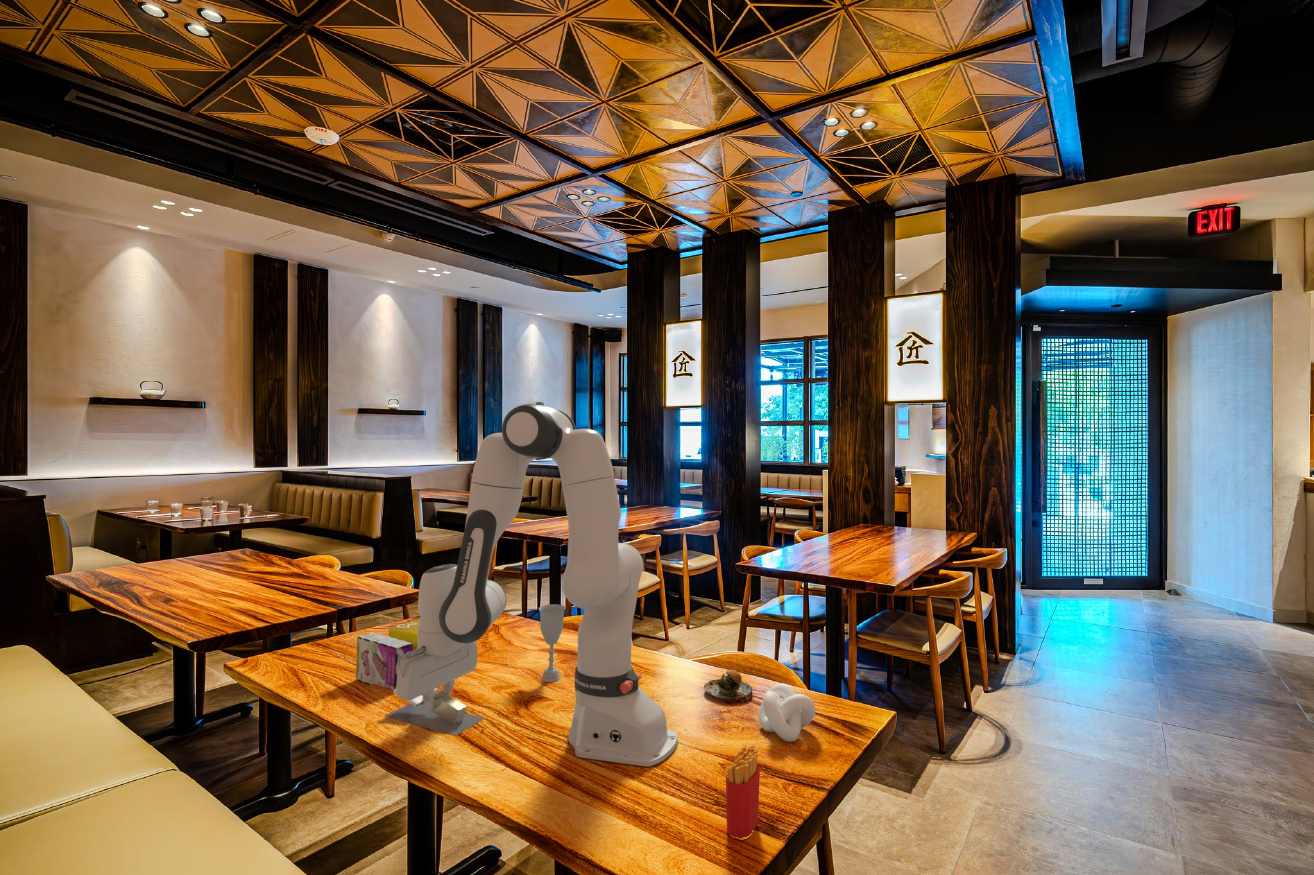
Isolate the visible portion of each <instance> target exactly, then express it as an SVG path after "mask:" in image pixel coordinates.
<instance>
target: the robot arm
mask: <svg viewBox="0 0 1314 875" xmlns="http://www.w3.org/2000/svg"><path fill="white" fill-rule="evenodd" d="M546 459H551V460H553V461H554V462H555V464H556V465H557V467H558V470H559V475H560V481H561V486H562V492H563V498H564V505H565V510H566V515H567V523H568V525H567V526H568V541H567V542H568V543H567V562H566V567H565V570H564V573H563V574H562V578H561V579H562V580H561V586H562V591H563V594H564V596H565V598H566V600H568V602H569V603H570V604H572V605H573V606H574V607H576V608H578V609H581V610H584V612H583V616H582V619H581V622H580V623H579V626H578V628H577V629H578V630H577V656H576V658H577V661H576V662H577V664H576V667H575V670H574V671H575V672H574V689H575V690H574V691H575V703H574V710H573V717H572V721H571V726H570V729H569V733H568V734H567V740H568V742H569V744H570V745H571V746H572V747H573V748H574V756H576V757H578V758H583V759H590V760H597V761H604V762H611V763H618V764H623V765H624V764H626V765H631V766H632V765H633V766H639V767H651V766H654V765H658V764H660V763H661V762H662V761H664V760H666V759H667V758H669V756H670V755H672V754H673V752H674V750H675V749H676V748H677V747H678V743H679V741H678V740H679V738H678V734H677V732H676V731H674V730H671V729H669V728H668V725H667V719H666V714H665V711H664V709H663V708H662V707H661V706H660V705H659V704H658V703H657V702H655V700H653V699H652V697H650V696H649V695H648V694H647V693H646V692H645V691H644V690H643V689H642V688H641V687H640V686H639V681H640V680H641V679H642V678H643V676H642V675H643V672H642V671H640V672H639V673H638V674H637V673H636V672H635V670H634V667H633V666H632V634H633V633H632V632H633V623H634V617H635V611H636V606H637V599H638V592H639V587H640V580H641V577H642V574H643V570H644V561H643V558H642V555H641V554H640V552H639V550H638V549H637V548H635V547H634V546H633V545H630V544H627V543H623V542H622V543H621V542H619V529H620V520H621V517H622V510H621V504H620V499H619V494H618V489H617V483H616V478H615V473H614V468H613V464H612V460H611V457H610V454H609V450H608V448H607V445H606V442H605V441H604V438H603V436H602V435H601V433H599V432H598V431H596V430H593V429H590V428H578V429H577V427H576V425H575V422H574V421H573V419H572V418H571V417H570V416H569V415H568V414H567V413H566V412H564V411H561V410H558V409H555V408H553V407H550V406H547V405H542V404H534V403H524V404H520V405H518V406H516V407H514V408H512V409H511V410H510V411H508V413H507V414H506V415H505V417H504V419H503V421H502V425H501V432H494V433H492V434H489V435H487V436H485V437H484V439H482V441H481V443H480V446H479V448H478V452H477V454H476V458H475V462H474V466H473V471H472V476H471V481H470V482H471V483H470V490H469V497H468V506H467V512H466V513H467V514H466V518H465V519H466V520H465V526H464V532H463V537H462V540H461V544H460V550H459V555H458V560H457V564H455V563H447V564H440V565H437V566H434V567H432V568H429V569H427V570H426V571H424V572H423V574H422V576H421V579H420V582H419V590H418V604H417V605H418V607H417V609H418V613H419V619H420V621H419V624H418V641H417V649H413V651H410V652H408V653H406V655H405V656H404V657H403V659H402V660H401V661H400V667H399V671H398V677H397V685H396V694H395V695H396V696H397V697H398V698H399V699H402V700H405V701H406V700H412V699H414V698H416V697H418V696H420V695H422V696H423V698H424V699H425V701H426V709H427V710H432V709H434V708H436V707H437V700H436V699H433V697H432V694H434V689H435V688H437V689H439V687H442V686H443V687H442V690H441V691H442V692H444V693H446V694H447V695H449V696H451V693H452V690H453V688H454V685H455V680H457V679H458V678H461V677H464V676H465V675H467V674H470V673H471V672H473V671H475V669H476V667H477V663H478V645H477V642H476V641H478V640H480V639H481V638H482V637H483V636H484V635H485V633H486V632H487V631H488V629H489V628H490V627H491V626H492V625H493V624H494V623H495V622H496V621H497V620H498V618H500V616H502V614H504V613H503V612H504V611H505V608H506V606H507V595H506V592H505V590H504V588H503V587H502V586H501V584H499V583H498V582H496V581H494V580H493V579H492V580H491V579H489V573H490V570H491V569H490V568H491V563H492V557H493V554H494V550H495V547H496V546H497V543H498V541H499V539H500V538H501V537H502V535H503V533H504V532H505V531H506V529H507V528H508V527H509V526H510V525H511V524H512V523H513V521H514V520H515V519H516V517H517V515H518V512H519V509H520V507H521V504H522V503H521V502H522V499H523V493H524V486H525V481H526V480H525V479H526V474H527V469H528V467H529V465H530V464H531V463H532V462H533V461H534V460H535V461H542V460H546Z"/></svg>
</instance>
